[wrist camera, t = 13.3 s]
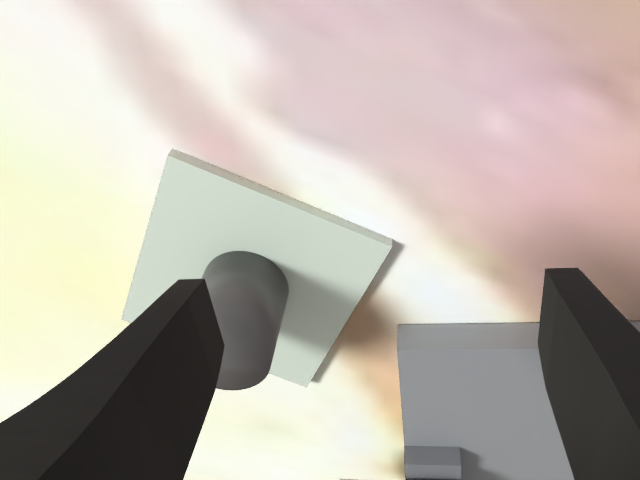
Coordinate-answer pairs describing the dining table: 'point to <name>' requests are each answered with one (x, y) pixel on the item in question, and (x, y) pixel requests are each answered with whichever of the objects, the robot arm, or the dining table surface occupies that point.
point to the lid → (255, 268)
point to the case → (477, 404)
